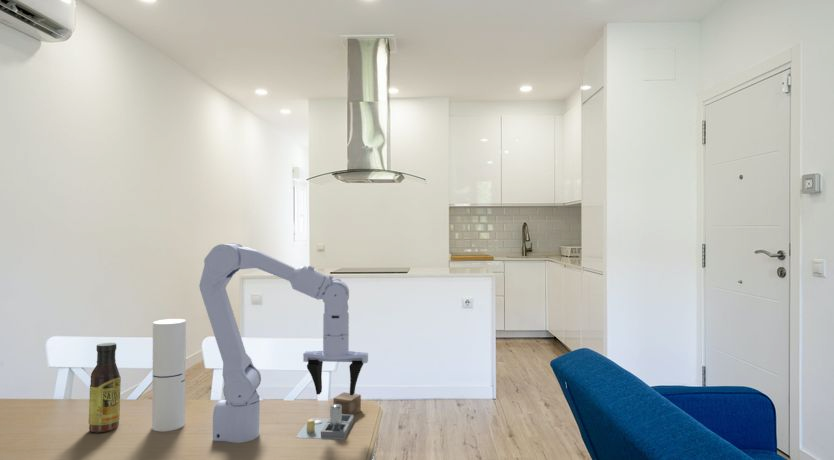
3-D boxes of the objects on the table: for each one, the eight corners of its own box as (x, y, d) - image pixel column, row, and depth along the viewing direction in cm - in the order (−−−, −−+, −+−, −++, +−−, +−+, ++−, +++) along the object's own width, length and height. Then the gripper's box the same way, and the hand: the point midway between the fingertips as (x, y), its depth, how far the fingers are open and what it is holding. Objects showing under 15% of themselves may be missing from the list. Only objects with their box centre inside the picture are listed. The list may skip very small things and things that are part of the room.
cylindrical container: (145, 428, 123) (146, 322, 123) (172, 418, 130) (172, 317, 130) (165, 433, 120) (166, 325, 120) (191, 423, 126) (192, 320, 126)
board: (295, 442, 115) (295, 426, 116) (310, 422, 127) (310, 407, 127) (344, 443, 115) (344, 427, 115) (354, 423, 127) (354, 409, 127)
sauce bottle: (105, 435, 119) (105, 348, 119) (81, 432, 120) (82, 346, 120) (126, 424, 125) (127, 342, 125) (104, 422, 127) (104, 340, 127)
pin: (331, 430, 120) (331, 403, 120) (342, 430, 120) (342, 404, 120) (328, 434, 117) (329, 407, 117) (340, 434, 117) (340, 407, 117)
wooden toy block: (350, 420, 129) (350, 400, 129) (333, 417, 130) (333, 397, 130) (360, 414, 133) (360, 394, 133) (343, 411, 135) (343, 392, 135)
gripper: (370, 330, 122) (370, 388, 122) (309, 329, 123) (309, 387, 123) (365, 337, 115) (364, 398, 115) (300, 335, 116) (300, 396, 116)
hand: (335, 393), depth 118 cm, fingers open, 7 cm apart
